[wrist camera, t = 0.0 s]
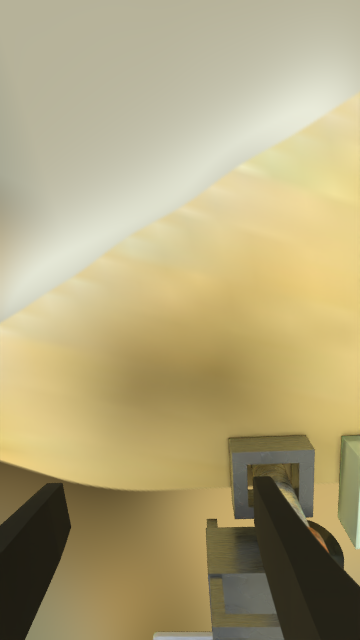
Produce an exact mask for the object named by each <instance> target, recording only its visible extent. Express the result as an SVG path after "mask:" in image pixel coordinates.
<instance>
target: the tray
mask: <svg viewBox="0 0 360 640" xmlns="http://www.w3.org/2000/svg"><path fill="white" fill-rule="evenodd" d="M338 518H339V520H340V522H341V523H342V525H343V527H344V529H345V531H346V533H347V534H348V536H349V538H350V540H351V542H352V543H353V545H354V547H355V549H360V435H356V436H342V442H341V462H340V482H339V503H338Z"/></svg>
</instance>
